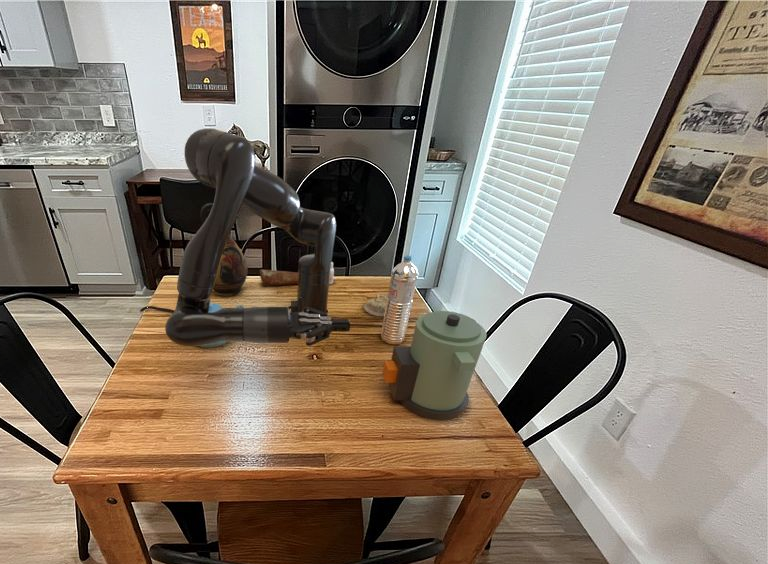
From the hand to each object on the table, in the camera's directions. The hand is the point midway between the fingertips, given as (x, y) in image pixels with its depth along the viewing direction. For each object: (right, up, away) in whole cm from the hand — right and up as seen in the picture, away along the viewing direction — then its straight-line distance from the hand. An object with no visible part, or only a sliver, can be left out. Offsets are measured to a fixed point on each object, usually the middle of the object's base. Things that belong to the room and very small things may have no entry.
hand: (349, 325), depth 80 cm
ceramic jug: (-36, +18, +59) cm, 71 cm away
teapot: (-35, -1, +33) cm, 48 cm away
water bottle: (+18, -1, +33) cm, 38 cm away
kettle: (+20, -16, +12) cm, 28 cm away
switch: (+10, -11, +8) cm, 17 cm away
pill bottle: (+2, +22, +66) cm, 70 cm away
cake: (+18, +10, +49) cm, 53 cm away
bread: (-14, +22, +65) cm, 70 cm away
